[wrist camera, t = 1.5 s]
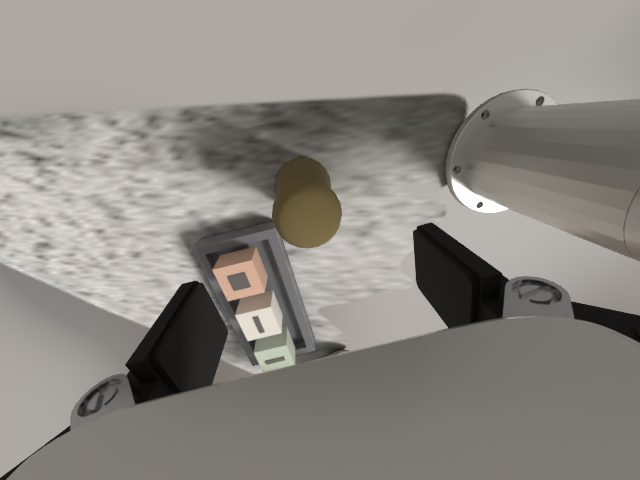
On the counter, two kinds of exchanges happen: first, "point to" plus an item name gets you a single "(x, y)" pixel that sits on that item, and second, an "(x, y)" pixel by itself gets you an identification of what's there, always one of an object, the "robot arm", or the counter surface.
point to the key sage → (275, 351)
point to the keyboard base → (277, 281)
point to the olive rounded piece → (305, 204)
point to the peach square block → (241, 274)
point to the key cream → (259, 315)
